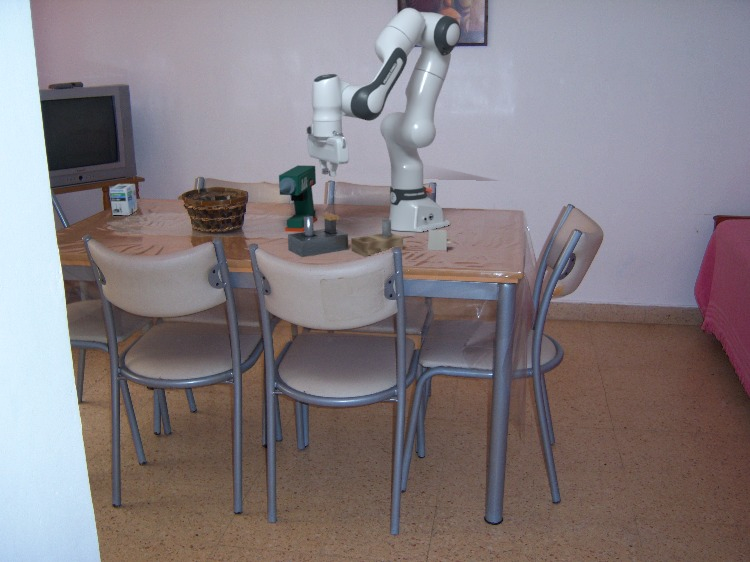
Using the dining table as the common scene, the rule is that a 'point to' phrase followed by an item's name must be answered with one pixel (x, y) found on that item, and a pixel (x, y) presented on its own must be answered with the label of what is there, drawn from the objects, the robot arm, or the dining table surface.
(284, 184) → the power tool
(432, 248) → the pale grey square block
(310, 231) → the bit
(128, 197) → the light bulb box
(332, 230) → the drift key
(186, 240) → the dining table surface
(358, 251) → the rack
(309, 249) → the socket block
